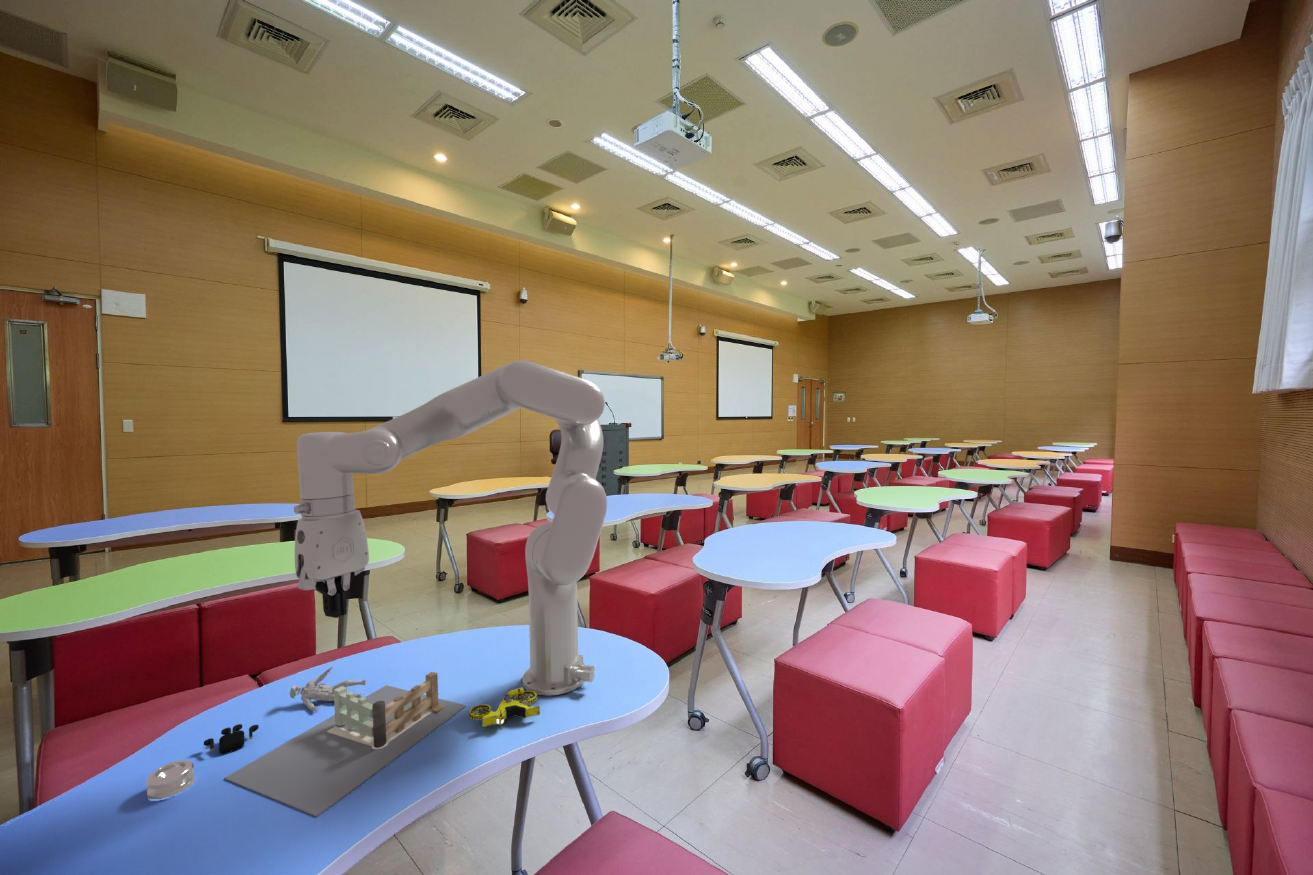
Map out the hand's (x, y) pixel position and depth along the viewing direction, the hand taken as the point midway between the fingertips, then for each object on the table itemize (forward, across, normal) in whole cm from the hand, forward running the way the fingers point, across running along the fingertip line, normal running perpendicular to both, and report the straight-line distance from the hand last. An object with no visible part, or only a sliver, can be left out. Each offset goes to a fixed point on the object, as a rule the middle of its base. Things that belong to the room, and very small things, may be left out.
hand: (335, 614), depth 87 cm
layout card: (+20, 0, -4) cm, 21 cm away
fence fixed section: (+20, +5, -9) cm, 23 cm away
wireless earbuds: (+20, -9, +14) cm, 26 cm away
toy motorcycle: (+21, +13, -23) cm, 34 cm away
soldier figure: (+20, +6, +12) cm, 24 cm away
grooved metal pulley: (+20, -18, +11) cm, 29 cm away
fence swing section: (+20, +1, -3) cm, 20 cm away
